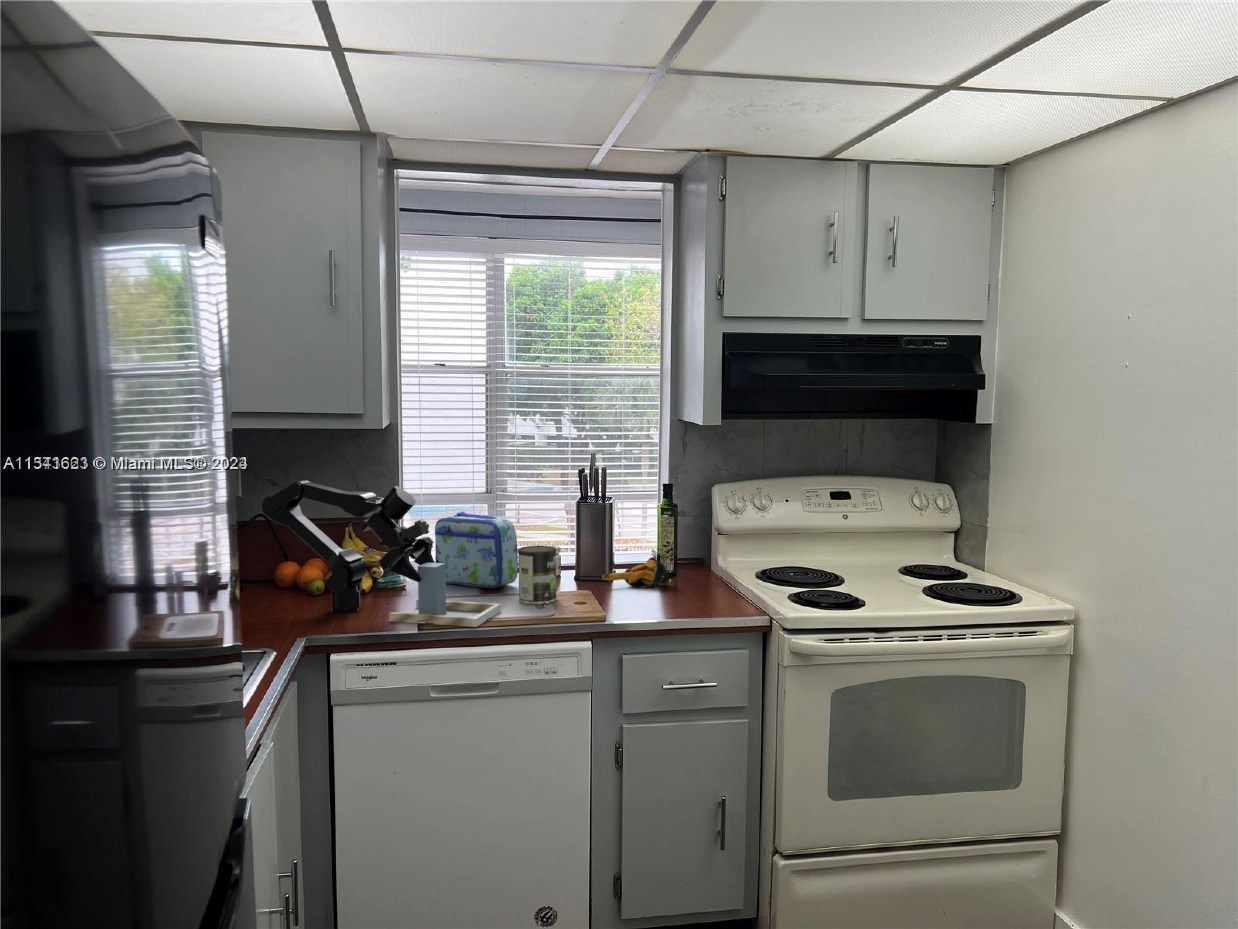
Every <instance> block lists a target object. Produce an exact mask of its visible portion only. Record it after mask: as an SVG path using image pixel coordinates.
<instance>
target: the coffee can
mask: <svg viewBox="0 0 1238 929" xmlns="http://www.w3.org/2000/svg"><path fill="white" fill-rule="evenodd" d="M517 553H518V601H519V603H521V604H526V605H540V604H539V603H546V602H551V603H554V602H556V601H557V600H556V599H557V560H556V559H557V557H556V555H557V548H556V547H554V546H551V545H528V546H527V545H526V546H521V547H519V548H517Z"/></svg>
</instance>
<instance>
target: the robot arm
mask: <svg viewBox="0 0 1238 929" xmlns="http://www.w3.org/2000/svg"><path fill="white" fill-rule="evenodd" d="M305 499H307V500H312V501H314V502H315V501H316V502H319V503H323V504H326V505H327V504H328V505H331V506H334V507H337V508H340V509H342V510H343V512H345V513H347V514H349V515H351V516H352V517H356V518H361V517H362V518H363V517H366V516H369V517H368V518H367V519H364V520H361V526H360V531H361V532H362V533H363V532H367V531H370V530H371V531H372V533H373V534H374V535H375V536H376V537H377V538H378V539H379V540H380V543H379V546H380V547H383V548H384V547H386V548H387V549H388V551H387V552H386V553H385V554H384V555H383V556H382V557H381V558H380V559H379V566H380V567H381V568H382V569H383V571H388V572H390V573H391V572H392V573H393V574H394V573H395V574H397V575H399V576H401V577H404V578H407V579H409V580H412V581H414V582H417V583H418V582H420V581H421V580H422V579H421V577H420V575H419V574H418V570H416V568H415V567H414V566H413V564H412V563H411V561H410V559H412V560H413V562H414V563H415V564H418V566H420V565H422V564H425V563H436V562H435V560H434V557H433V554H432V549H433V548H434V545H433V544H434V542H435V541H433V539H432V538H431V537H430V536H424V535H427V534H430V531H429V527H430V524H429V523H428V522H427V521H426V520H424V519H422V518H421V519H419V520H417V521H414V524H413V525H411V526H409V527H406V526H404V525H401V526H399V525H398V524H397V522H396V521H395V520H398V521H399V520H402V519H403V518H404V517H405V516H406V515H407V514H408V512H409V511H410V510H411V509H412V508H413V507H414V506H415V504H416V499H415V498H414V496H413V495H412V494H411V493H409V492H407V491H406V490H404V489H402V488H400V487H399V486H393V487H391V489H390V491H389V492H388V494H386V496H385V497H378V496H377V494H376V493H374V492H372V491H346V490H344V489H339V488H334V487H331V486H326V485H322V484H319V483H315V482H311V481H309V480H306V479H304V480H298V481H296V480H295V481H293V483H291V484H290V485H289V486H287V487H286V488H283V489H281V490H280V491H278V492H276V493H275V494H273V495H268V496H266V497H265V498H264V499H263V501H262V504H261V512H262V514H263V515H264V516H265V517H266V518H268V519H269V520H271V521H272V522H275V523H277V524H280V525H282V526H285V527H288V528H289V529H290V530H291V531H292V532H293V533H294V534H295V535H296V536H297V537H299V538H300V540H302V541H303V542H304V543H305V544H306V545H308V547H310V548H311V550H313V551H314V552H315V553H316V554H317V555H318V556H320V557H321V558H322V559H323V560H324V561H325V562H326V564H327V567H328V571H329V572H330V573H331V575H329V577H327V579H326V580H325V581H324V584H325V586H326V589H327V590H330V592H331V610H330V613H331V614H336V613H337V614H339V613H352V612H353V613H354V612H358V611H359V608H360V607H361V591H360V589H358V585H360V584H361V583H362V581H363V579H364V578H363V577H364V576H366V574H367V569H368V567H367V562H366V561H365V560H364V556H363V555H361V554H359V553H358V552H357V550H356V549H355V548H353V547H350V548H347V549H343V548H341V547H340V546H338V545H337V544H336V543H335V542H334V541H333V540H332V539H331V538H330V537H329V536H328V535H326V534H325V533H324V532H323V531H322V530H321V529H319V527H317V526H316V525H315V524H314V523H313V522H312V521H311V520H310V519H308V517H306V516H305V515H304V514H303V512H302V510H301V506H300V503H302V502H303V501H304V500H305ZM378 510H379V511H378ZM421 536H423V537H421ZM419 537H420V538H419Z"/></svg>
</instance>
